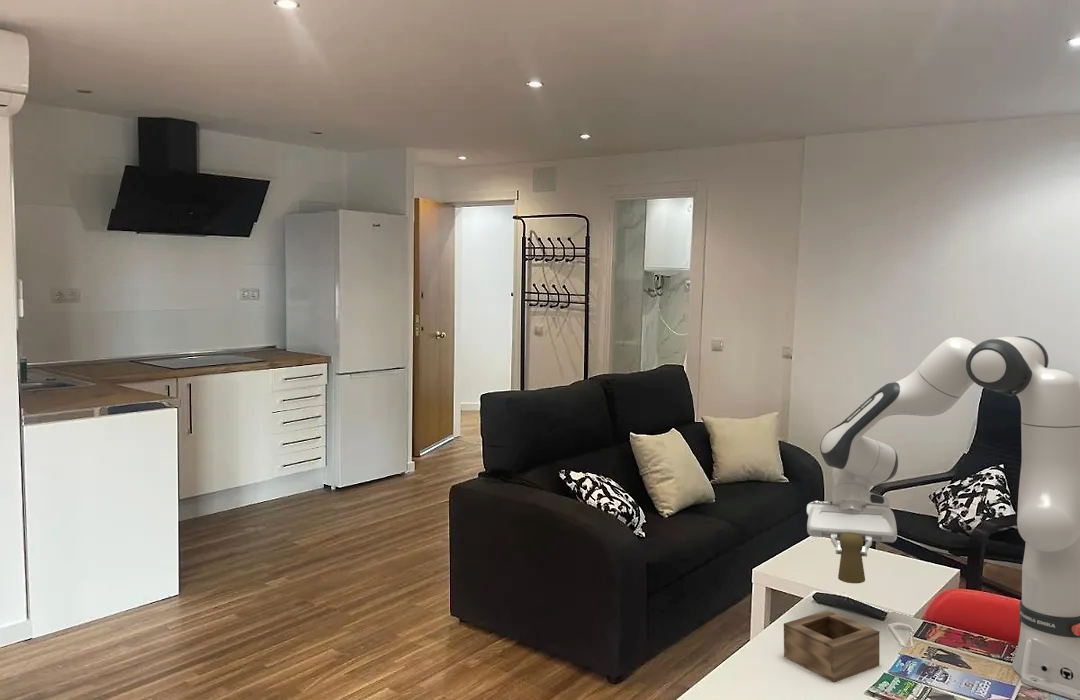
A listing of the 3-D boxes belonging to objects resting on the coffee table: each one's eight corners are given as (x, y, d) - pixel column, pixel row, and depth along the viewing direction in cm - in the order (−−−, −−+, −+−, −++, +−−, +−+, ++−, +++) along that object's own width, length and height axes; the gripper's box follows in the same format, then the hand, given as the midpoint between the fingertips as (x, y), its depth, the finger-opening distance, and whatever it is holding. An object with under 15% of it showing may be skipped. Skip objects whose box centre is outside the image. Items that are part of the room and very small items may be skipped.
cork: (869, 583, 186) (869, 536, 185) (843, 583, 186) (842, 537, 185) (859, 574, 192) (858, 529, 191) (834, 574, 192) (833, 530, 191)
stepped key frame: (925, 653, 180) (925, 646, 179) (902, 653, 180) (902, 645, 180) (906, 626, 192) (906, 619, 192) (885, 626, 193) (885, 619, 193)
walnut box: (879, 665, 172) (879, 631, 172) (834, 682, 166) (833, 646, 165) (828, 641, 185) (828, 610, 184) (784, 656, 178) (783, 623, 177)
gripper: (806, 493, 198) (804, 544, 189) (896, 498, 190) (898, 551, 182) (807, 506, 202) (805, 556, 194) (895, 512, 195) (897, 564, 186)
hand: (851, 554), depth 188 cm, fingers closed on cork, 4 cm apart
